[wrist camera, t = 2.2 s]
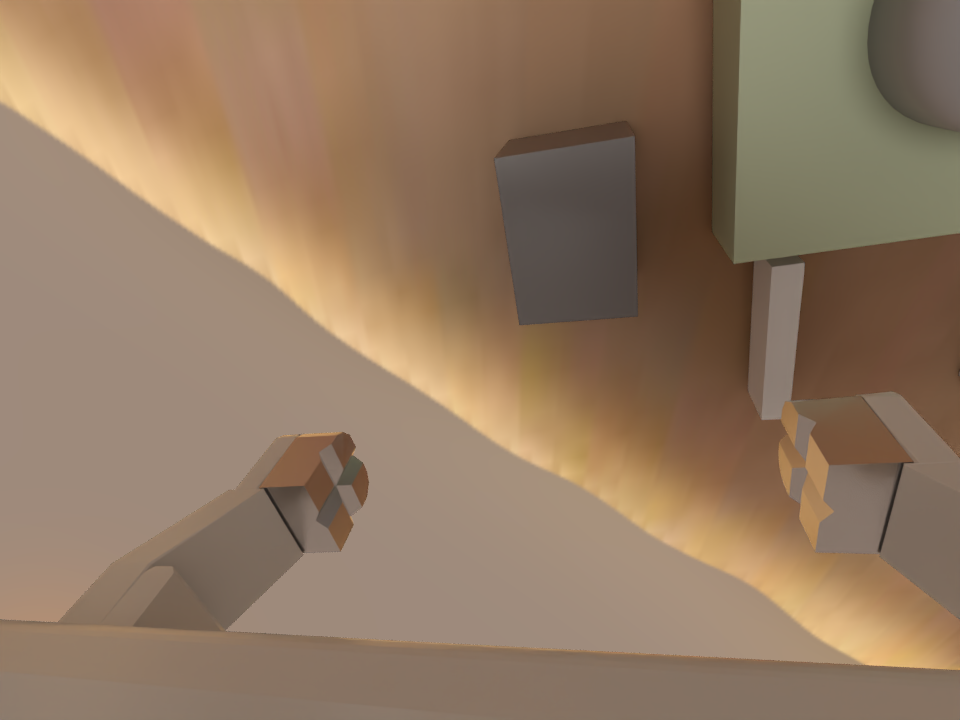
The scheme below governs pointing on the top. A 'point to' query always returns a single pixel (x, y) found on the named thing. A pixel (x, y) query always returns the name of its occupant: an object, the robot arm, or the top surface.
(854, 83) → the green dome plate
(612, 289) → the dark grey box
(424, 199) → the top surface
